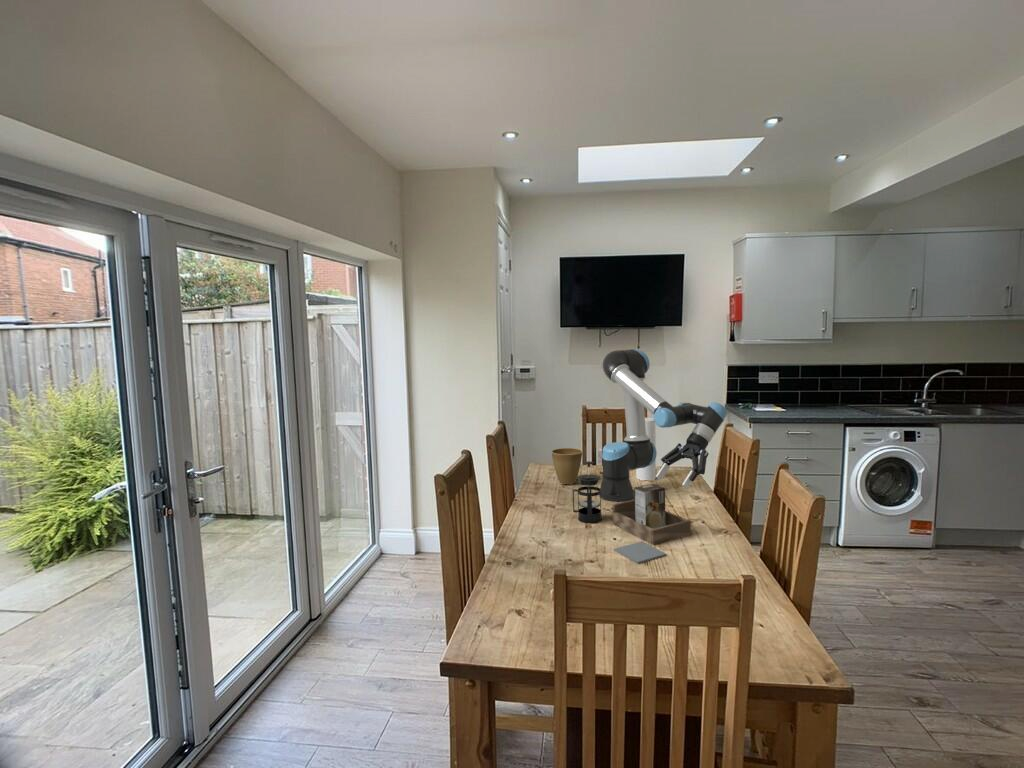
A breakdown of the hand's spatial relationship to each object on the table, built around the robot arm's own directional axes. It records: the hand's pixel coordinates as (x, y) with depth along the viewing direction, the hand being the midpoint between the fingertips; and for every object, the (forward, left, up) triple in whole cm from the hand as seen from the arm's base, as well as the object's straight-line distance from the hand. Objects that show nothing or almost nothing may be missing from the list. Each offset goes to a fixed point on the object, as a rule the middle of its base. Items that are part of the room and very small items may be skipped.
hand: (670, 482), depth 198 cm
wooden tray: (-1, -9, -16) cm, 19 cm away
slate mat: (+13, -26, -16) cm, 34 cm away
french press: (-22, -22, -17) cm, 35 cm away
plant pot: (-68, -2, -17) cm, 70 cm away
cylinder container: (-54, +35, -17) cm, 66 cm away
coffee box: (-1, -9, -17) cm, 19 cm away
